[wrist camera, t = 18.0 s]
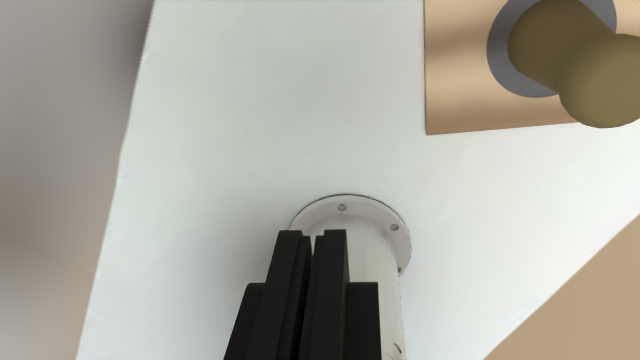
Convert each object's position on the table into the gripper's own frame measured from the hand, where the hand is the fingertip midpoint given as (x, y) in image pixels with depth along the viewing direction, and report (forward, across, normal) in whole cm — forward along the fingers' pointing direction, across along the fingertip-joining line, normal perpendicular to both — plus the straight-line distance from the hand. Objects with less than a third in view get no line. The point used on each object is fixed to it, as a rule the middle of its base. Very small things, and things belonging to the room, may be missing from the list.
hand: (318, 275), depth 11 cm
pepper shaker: (+26, -15, +1) cm, 30 cm away
